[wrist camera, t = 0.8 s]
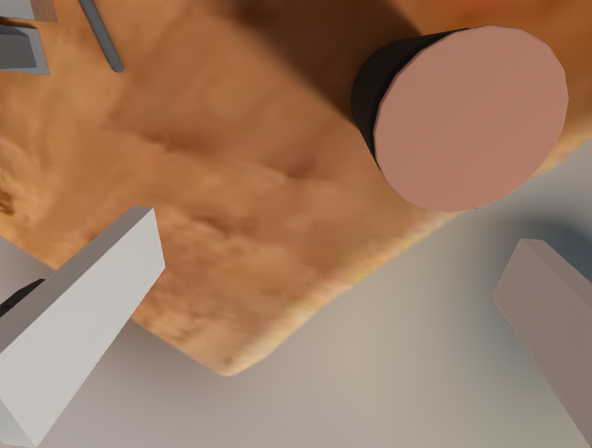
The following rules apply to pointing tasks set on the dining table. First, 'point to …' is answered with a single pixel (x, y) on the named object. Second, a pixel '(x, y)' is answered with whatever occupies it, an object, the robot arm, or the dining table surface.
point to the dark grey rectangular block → (22, 51)
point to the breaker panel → (28, 10)
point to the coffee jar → (460, 114)
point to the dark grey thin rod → (102, 34)
